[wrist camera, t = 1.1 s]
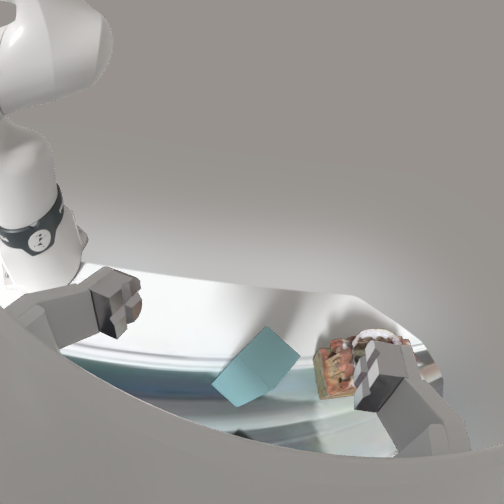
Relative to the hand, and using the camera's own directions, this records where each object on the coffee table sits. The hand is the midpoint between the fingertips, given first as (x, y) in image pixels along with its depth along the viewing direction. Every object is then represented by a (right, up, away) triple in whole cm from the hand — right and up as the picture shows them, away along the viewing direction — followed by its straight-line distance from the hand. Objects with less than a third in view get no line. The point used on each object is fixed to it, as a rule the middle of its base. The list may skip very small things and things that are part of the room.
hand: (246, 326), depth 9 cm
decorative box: (+19, -19, +36) cm, 44 cm away
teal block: (-2, -17, +28) cm, 33 cm away
